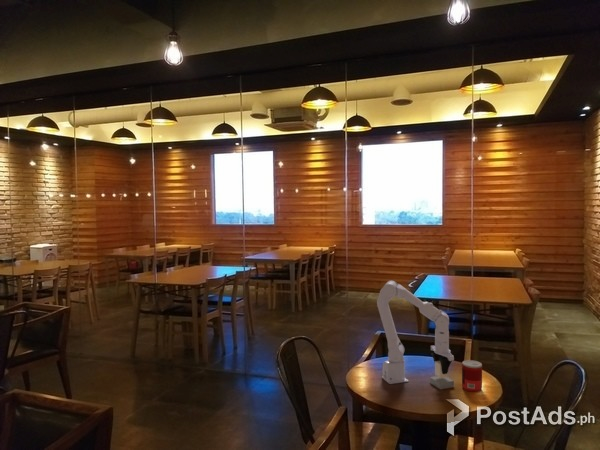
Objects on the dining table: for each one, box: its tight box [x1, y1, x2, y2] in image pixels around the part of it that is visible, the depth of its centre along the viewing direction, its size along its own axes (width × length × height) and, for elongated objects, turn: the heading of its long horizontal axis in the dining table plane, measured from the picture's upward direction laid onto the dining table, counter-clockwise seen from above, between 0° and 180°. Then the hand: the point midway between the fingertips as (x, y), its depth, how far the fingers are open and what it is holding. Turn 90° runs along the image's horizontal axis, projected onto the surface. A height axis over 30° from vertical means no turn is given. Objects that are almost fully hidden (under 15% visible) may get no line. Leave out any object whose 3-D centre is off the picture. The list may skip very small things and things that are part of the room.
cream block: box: [434, 361, 449, 378], centre depth 191 cm, size 4×4×6 cm
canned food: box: [461, 359, 483, 393], centre depth 187 cm, size 8×8×11 cm
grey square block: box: [429, 375, 455, 390], centre depth 192 cm, size 7×7×3 cm
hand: (441, 371), depth 191 cm, fingers closed on cream block, 4 cm apart
